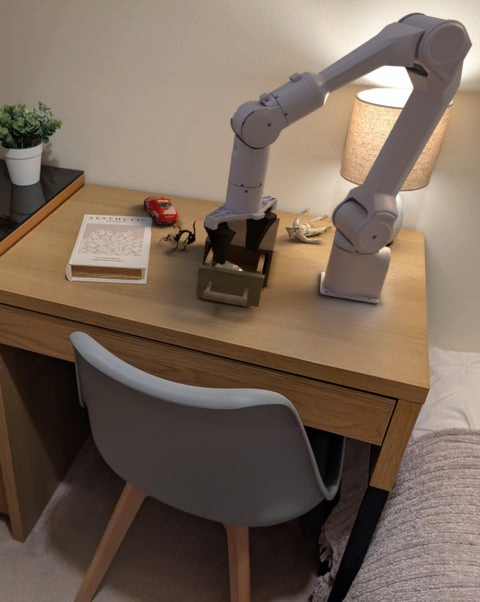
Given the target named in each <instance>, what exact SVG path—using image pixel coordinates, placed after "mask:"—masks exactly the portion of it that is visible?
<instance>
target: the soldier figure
mask: <svg viewBox="0 0 480 602" xmlns="http://www.w3.org/2000/svg"><path fill="white" fill-rule="evenodd" d="M310 210H311V207H307V208H305V209H304V210H302V211H301V212H300V213H299V214H298V215H297V216H296V217H295V218H294V221H293V223H292V226H291V227H288V226H286V227H285V230H286V233H287V235H288V238H289V239H290V238H291V237H292V236H294V235H296V237H297V239H299V240H301V241H303V242H304V243H309V244H315V243H318V244H319V243H320V244H321V243H323V242H324V239H323V238H316V239H315V238H308V237H311V236H314V235H318V234H323V233H325V231H327V230H329V231H330V230H332V228H333V224H332V225H326V226H325V225H324V226H323V227H321V226H320V227H316V228H313V226H314V225H316V224H317V223H318V222H319V221H325V220H327V219H328V218H329V214H324V215H322V216H315V217H314V218H310V220H308V222H300V220H301V219H302V218H303V216H304V215H305V214H306V213H309V211H310Z"/></svg>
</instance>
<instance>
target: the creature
mask: <svg viewBox="0 0 480 602" xmlns="http://www.w3.org/2000/svg"><path fill="white" fill-rule="evenodd" d="M196 222H197V220H194V221H193V224H192V229H193V231H192V230H189V229H182V227H181V226H179V225H178V226H177V229H179V230H177V233H176V231H174V233H175V234H172V233H168V234H167V236H166V237H165V236H164V237H162V238H161V239H159V241H158V244H160V243H161V242H162V241H164V242H168V240H169V241H172V242H174V244H176V247H174V248H172V249H169V251H167V252H166V254H172V253H174V252H175V251H176V250H178V251H185V250H186V247H187V246H190V245H191V244H193V243H194V242H196V240H197V239H196V238H197V237H196ZM171 225H172V227H173V229H174V230H176V227H175V226H174V224H171ZM185 233H187V234H188V235H187V237H186V239H184V242H183V241H182V240H181V239H182V236H183V234H185ZM171 238H173V240H172V239H171ZM179 242H180V243H182V244H184V246H183V248H179ZM178 248H179V249H178Z"/></svg>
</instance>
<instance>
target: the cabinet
mask: <svg viewBox="0 0 480 602" xmlns="http://www.w3.org/2000/svg"><path fill="white" fill-rule="evenodd" d="M280 221H281V218H280V217H277V220H276V221H275V222H274V223H273V224H272V226H271V227H270V228H269V230H268V231H267V233H266V234H265V236H264V238H263V240H262V242H261V244H260V246H259V248H258V250H257V252H262V253H266V257H265V262H264V268H263V272H262V275H264V280H263V286H262V287H267V286H268V281H269V276H270V273H271V267H272V262H273V258H274V252H275V248H276V241H277V236H278V232H279V226H280ZM228 226H229V229H231V230H233V231H235V232H237V233H236V234H235V236H234V237H233V239H232V241H231V244H230V247H229V248H235V249H242V250H247V249H246V247H245V240H246V219H241V220H235V221H232V222H229V223H228ZM210 249H211V242H210V239H209V237H208V235H207V236H206V238H205V241H204V248H203V257H202V265H205V261H206V258H207V256H208V254H209V251H210Z"/></svg>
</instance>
